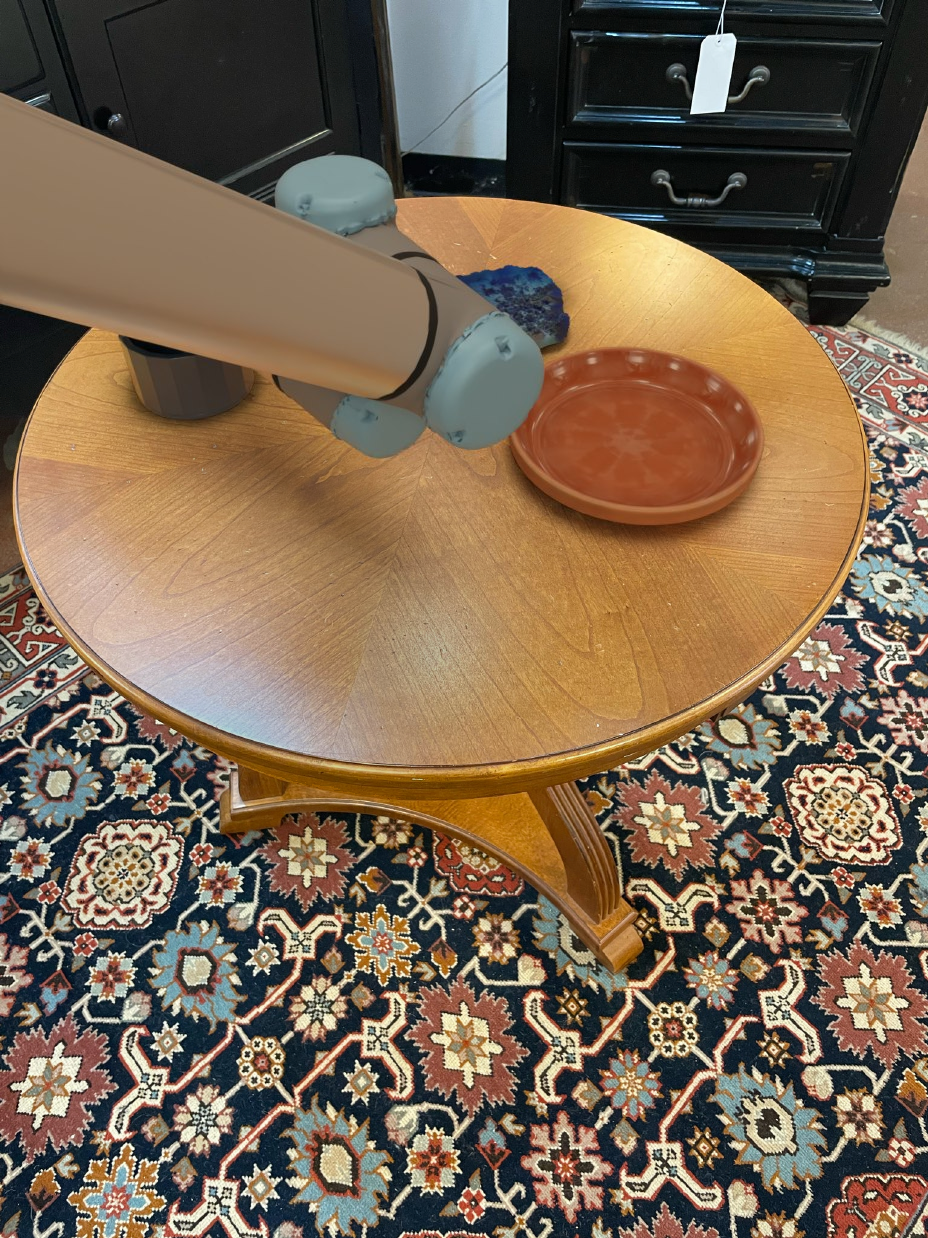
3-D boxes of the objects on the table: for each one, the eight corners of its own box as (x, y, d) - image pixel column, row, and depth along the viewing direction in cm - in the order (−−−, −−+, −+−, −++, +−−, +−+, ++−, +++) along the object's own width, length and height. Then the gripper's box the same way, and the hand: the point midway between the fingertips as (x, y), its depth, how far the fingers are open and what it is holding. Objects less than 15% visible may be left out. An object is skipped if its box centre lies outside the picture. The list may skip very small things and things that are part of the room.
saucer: (802, 446, 89) (813, 414, 86) (661, 580, 78) (669, 549, 75) (605, 349, 99) (609, 317, 96) (456, 457, 88) (456, 425, 85)
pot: (137, 427, 91) (117, 365, 86) (138, 357, 98) (119, 296, 93) (258, 411, 92) (245, 349, 87) (250, 344, 100) (237, 282, 94)
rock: (573, 352, 98) (575, 335, 97) (408, 358, 98) (406, 341, 96) (558, 277, 108) (559, 261, 106) (407, 283, 108) (406, 267, 106)
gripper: (202, 409, 75) (61, 287, 86) (360, 331, 81) (210, 228, 93) (180, 325, 69) (32, 206, 80) (352, 248, 76) (193, 149, 87)
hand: (127, 218), depth 86 cm, fingers closed on lid, 3 cm apart
